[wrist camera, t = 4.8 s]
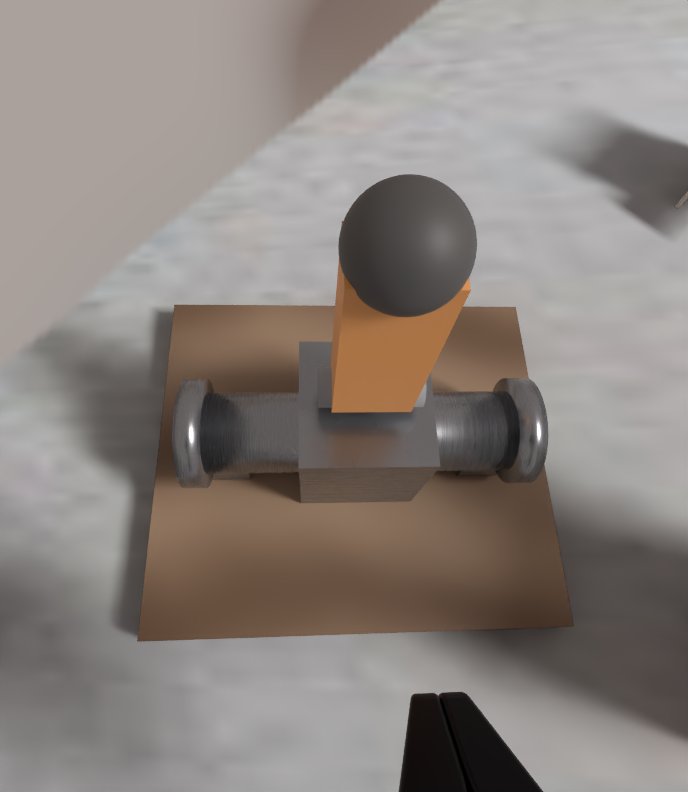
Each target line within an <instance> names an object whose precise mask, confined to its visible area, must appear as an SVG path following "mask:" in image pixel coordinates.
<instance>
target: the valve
mask: <svg viewBox="0 0 688 792" xmlns="http://www.w3.org/2000/svg"><path fill="white" fill-rule="evenodd" d="M331 353H332V342H299V392H214V389H213V386H212V383H211V381H210V380H209V379H184V380H182V382H181V383H180V385H179V388H178V391H177V394H176V399H175V404H174V411H173V423H172V449H173V461H174V468H175V473H176V477H177V480H178V482H179V484H180V486H181V487H182V488H208V487H209V486H210V484H211V482H212V480H251V479H252V473H299V481H300V494H301V503H354V502H410V501H412V499H413V498H414V497H415V496H416V495H417V493H418V492H419V491H420V490H421V489H422V488H423V486H424V485H425V484H426V483H427V482H428V481H429V479H430V478H431V477H432V476H433V475H434V474H435V472H436V471H456V475H457V476H495V475H496V474H497V476H498V477H499V478H500V479H501V480H502V481H503V482H505V483H531V482H533V481H534V480H536V479H537V477H538V476H539V475H540V473H541V471H542V469H543V466H544V463H545V459H546V454H547V447H548V422H547V414H546V409H545V405H544V401H543V398H542V396H541V393H540V391H539V389H538V387H537V386H536V384H535V383H534V382H533V381H531V380H530V379H527V378H503V379H501V380H499V381H498V382H497V384H496V385H495V387H494V389H493V391H446V392H433V389H432V380H431V373H430V375H429V377H428V379H427V381H426V400H425V404H424V406H423V407H414V408H413V410H412V412H339V413H332V408H318V368H331Z"/></svg>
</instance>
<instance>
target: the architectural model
mask: <svg viewBox="0 0 688 792" xmlns="http://www.w3.org/2000/svg"><path fill="white" fill-rule="evenodd" d="M687 198H688V192H687V193H686V194H685V195H684V196H683V197H682V198H681V200H680V201H679V202H678V203H677V204H676V205H675V206H674V207H676V208H677V209H678V208H679V207H680V206H681V205H682V203H683V202H684V201H685V200H686V199H687Z"/></svg>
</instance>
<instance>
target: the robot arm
mask: <svg viewBox="0 0 688 792" xmlns="http://www.w3.org/2000/svg"><path fill="white" fill-rule="evenodd" d="M399 792H543V791H542V789H541V788H540V787H539V786H538V784H537V783H536V782H535V781H534V779H533V778H532V777H531V775H530V774H529V773H528V772H527V770H526V769H525V768H524V766H523V765H522V764H521V763H520V761H519V760H518V759H517V757H516V756H515V755H514V754H513V752H512V751H511V750H510V748H509V747H508V746H507V745H506V743H505V742H504V741H503V739H502V738H501V737H500V736H499V734H498V733H497V732H496V730H495V729H494V728H493V727H492V725H491V724H490V723H489V721H488V720H487V719H486V718H485V716H484V715H483V714H482V712H481V711H480V710H479V709H478V707H477V706H476V705H475V704H474V702H473V701H472V700H471V698H470V697H469V696H468V695H467V694H465V693H463V692H448V693H441V694H440V695H439V696H438V695H436V694H434V693H424V694H413V695H412V697H411V701H410V709H409V716H408V724H407V732H406V740H405V747H404V755H403V763H402V771H401V778H400V786H399Z"/></svg>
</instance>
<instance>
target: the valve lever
mask: <svg viewBox="0 0 688 792" xmlns="http://www.w3.org/2000/svg"><path fill="white" fill-rule="evenodd" d="M476 250H477V238H476V230H475V225H474V222H473V219H472V216H471V214H470V212H469V210H468V208H467V207H466V205H465V203H464V202H463V201H462V199H461V198H460V197H459V196H458V195H457V194H456V193H455V192H454V191H453V190H452V189H451V188H449V187H448V186H446V185H445V184H443V183H442V182H440V181H438V180H435V179H433V178H430V177H426V176H421V175H412V174H410V175H398V176H394V177H390V178H387V179H384V180H382V181H380V182H378V183H376V184H375V185H373V186H371V187H370V188H368V189H367V190H366V191H365V192H364V193H363V194H361V195H360V196H359V197H358V198H357V200H356V201H355V202H354V203H353V205H352V206H351V208H350V210H349V211H348V213H347V215H346V217H345V219H344V221H342V227H341V232H340V237H339V266H338V278H337V291H336V303H335V316H334V328H333V341H332V353H331V368H318V408H332V413H339V412H412V410H413V408H414V407H423V406H424V404H425V400H426V381H427V379H428V377H429V375H430V373H431V371H432V369H433V367H434V365H435V362H436V360H437V358H438V356H439V354H440V352H441V350H442V348H443V346H444V344H445V342H446V340H447V338H448V336H449V334H450V332H451V330H452V328H453V326H454V324H455V322H456V319H457V317H458V315H459V313H460V311H461V309H462V307H463V305H464V303H465V301H466V299H467V297H468V295H469V293H470V291H471V289H470V282H469V276H470V274H471V271H472V269H473V266H474V262H475V258H476Z"/></svg>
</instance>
